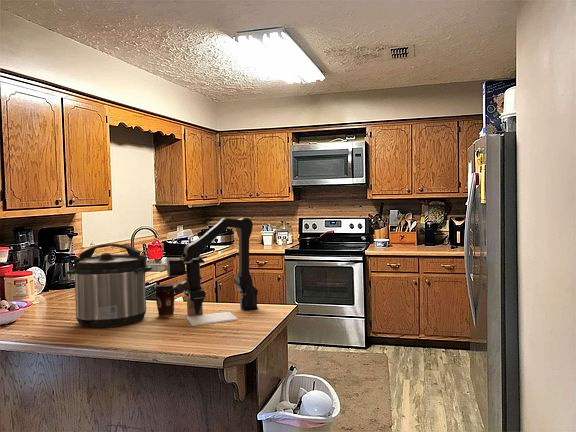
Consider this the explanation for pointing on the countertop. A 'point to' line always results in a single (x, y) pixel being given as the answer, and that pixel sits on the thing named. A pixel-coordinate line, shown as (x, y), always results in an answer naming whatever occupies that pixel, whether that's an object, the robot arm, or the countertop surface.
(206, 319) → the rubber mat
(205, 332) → the countertop surface
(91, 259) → the pressure cooker
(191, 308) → the walnut slab
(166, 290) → the coffee cup
